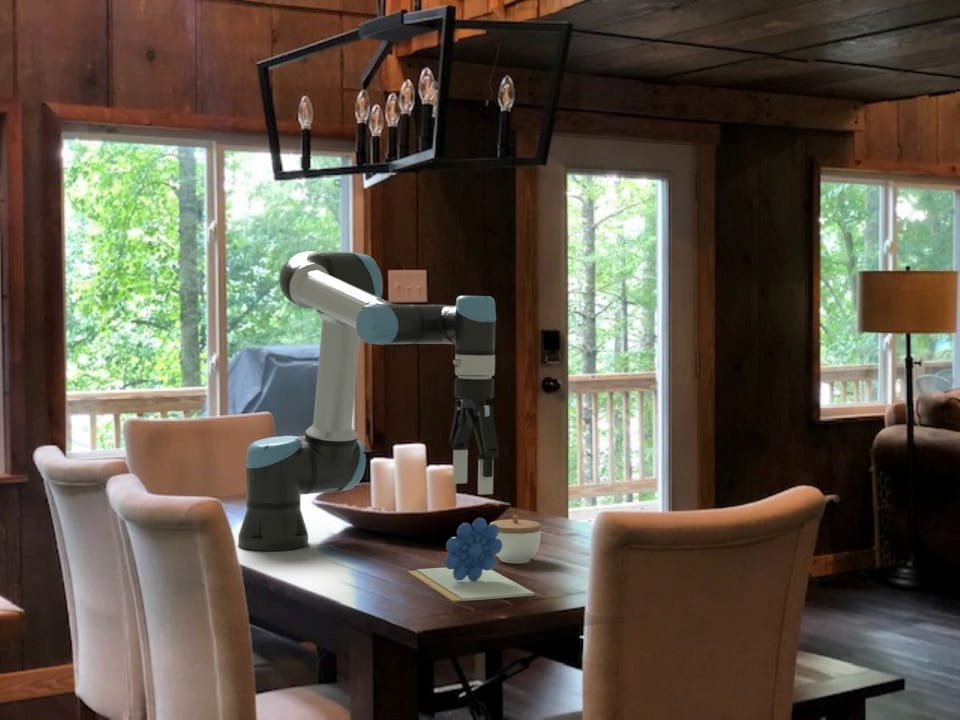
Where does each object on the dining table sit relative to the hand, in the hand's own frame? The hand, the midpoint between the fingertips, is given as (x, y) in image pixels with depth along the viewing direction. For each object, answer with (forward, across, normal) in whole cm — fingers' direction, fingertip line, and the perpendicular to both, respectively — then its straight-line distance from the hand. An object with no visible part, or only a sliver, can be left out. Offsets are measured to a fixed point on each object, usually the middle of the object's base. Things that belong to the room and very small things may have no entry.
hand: (472, 488), depth 238 cm
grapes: (+18, 0, 0) cm, 18 cm away
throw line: (+18, +1, -8) cm, 20 cm away
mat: (+18, +1, 0) cm, 18 cm away
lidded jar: (+18, -16, +16) cm, 29 cm away
